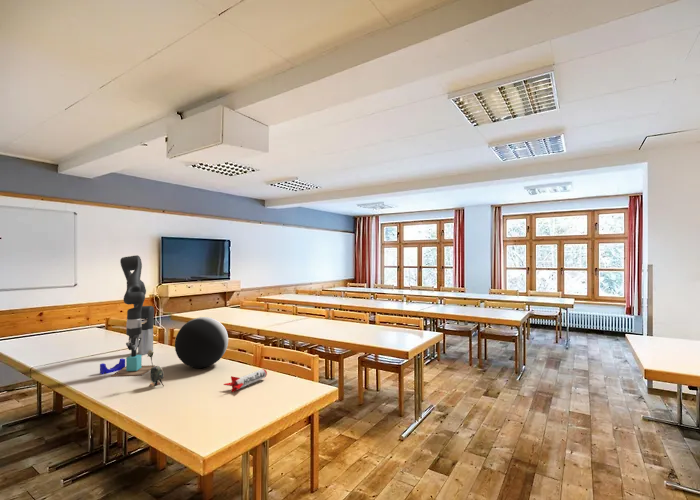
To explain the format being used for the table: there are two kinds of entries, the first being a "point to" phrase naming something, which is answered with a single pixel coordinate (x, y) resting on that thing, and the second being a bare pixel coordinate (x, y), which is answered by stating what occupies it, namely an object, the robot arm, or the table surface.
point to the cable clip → (116, 368)
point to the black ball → (201, 342)
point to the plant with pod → (155, 372)
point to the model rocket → (246, 379)
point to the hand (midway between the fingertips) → (133, 356)
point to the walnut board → (133, 373)
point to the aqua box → (133, 363)
